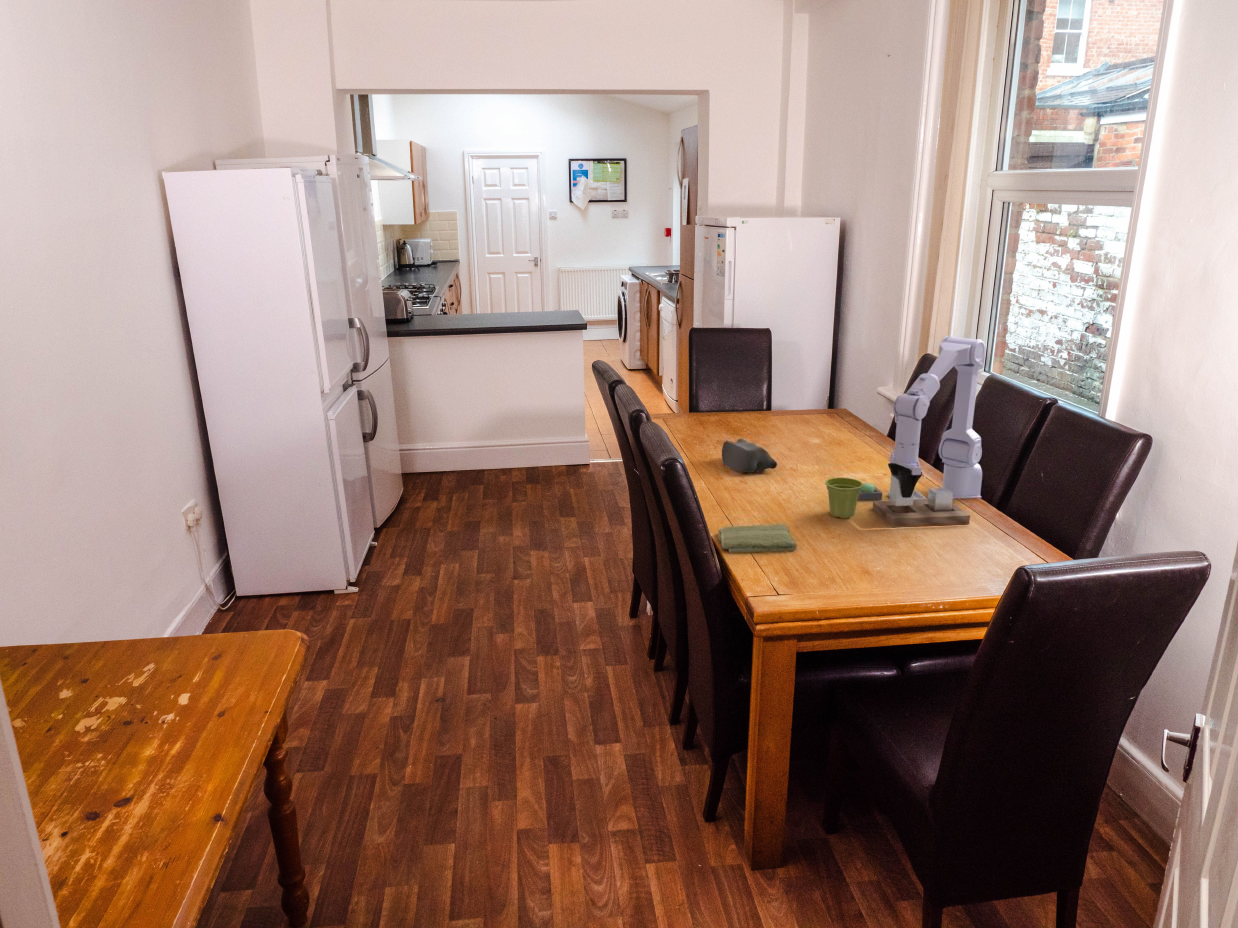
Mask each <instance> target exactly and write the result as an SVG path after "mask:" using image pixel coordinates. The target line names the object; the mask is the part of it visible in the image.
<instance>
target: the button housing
mask: <svg viewBox="0 0 1238 928" xmlns="http://www.w3.org/2000/svg"><path fill="white" fill-rule="evenodd" d="M882 498H883V492H882V491H881V490H880V489H879V488H877V487H876V486H875V488H874V492H862V491H861V490H860V492H859V495H858V500H859V501H860V502H863V501H864V502H865V501H883V499H882Z"/></svg>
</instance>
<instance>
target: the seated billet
mask: <svg viewBox="0 0 1238 928" xmlns="http://www.w3.org/2000/svg"><path fill="white" fill-rule="evenodd" d="M927 493H928V495H927V499H928V504H927V508H929V509H930V510H931V511H932V512H945V511H951V510H952V503H953V500H954V499H953V493H952V492H951V491H950V490H948V489H947V488H942V487H930V488H928V492H927Z"/></svg>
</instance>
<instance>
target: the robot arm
mask: <svg viewBox="0 0 1238 928" xmlns="http://www.w3.org/2000/svg"><path fill="white" fill-rule="evenodd" d="M986 351H987V346H986V344H985V342H984V341H983V340H982V339H981V338H980V339H979V338H968V337H967V338H965V337H958V336H951V335H946V336H945V337H944V338H943V339H942V340H941V341H940V343H939V346H938V356H937V358H936V359H935V361H933V363H932V365H931V366H930V369H929V370H928V371H927V373H922V374H920V375H919V376H918V378H917V379H916V380H915V381H914V382H913V384H912V385H911V386H910V387H909V389H908V390H907V391H906V393H902V394H899V395H898V396H896V398H895V401H894V403H893V405H892V411H893V414H894V422H895V423H896V429H895V441H894V450H893V451H890V458H889V459H888V464H887V466H888V468H889V471H890V475H891V474H899V476H900V480H901V493H902V497H903V498H911V496H912V493H913V491H914V490H915V487H916V485H917V483H918V481H919V480H920V479H921V478H922V476H923V471H922V466H921V465H920V461H919V452H920V451H919V450H920V449H919V448H920V438H921V431H922V430H921V429H922V419H924V418H925V417H926V415H927V413H928V409H929V407H930V404H931V403H930V402H931V400H932V399H933V398H934V396H935V395H936V393H937V392H938V391H939V390H940V388H941V383H940V381H941V380H942V379H943V378H944V377H945V376H946V375H947V374H948V372H950V370H952V368H955V370H956V371H957V378H956V388H955V397H954V406H953V413H952V414H953V415H952V421H951V422H952V423H951V428H950V429H948V430H946V431H945V432H943V433H942V435H941V441H940V443H939V446H938V455H939V458H940V459H941V460H942V461H941V462H942V463H944V465H943V477H942V485H941V486H942V487H941V488H947V489H948V490H950V491H951V492H952V493H953V500H954V499H975V498H981V499H982V496H981V491H982V480H983V470H982V467H981V465H980V464H979V462H980V460H981V458H982V454H983V450H982V449H983V448H982V438H981V436H980V434H978V433H977V432H976V431H975V430H974V429H973V422H974V415H975V406H976V405H975V404H976V398H977V397H976V396H977V390H978V389H977V388H978V380H979V373H980V371H979V370H981V369H984V364H985V359H986Z"/></svg>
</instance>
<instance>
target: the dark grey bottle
mask: <svg viewBox="0 0 1238 928" xmlns="http://www.w3.org/2000/svg"><path fill="white" fill-rule="evenodd" d="M721 459H722V462H723V464H724V466H725V467H726V466H727V467H726V468H728V467H729V468H728V469H730V470H732V471H736V472H738V473H740V474H744V473H753V472H755V473H764V472H765V471H766V470H767V469H771V470H773V469H776V468H777V466H778V463H777V461H776V460H775V459H774V458H772V457H771V456H770V454H769V452H768V451H767V450H766V449H764V448H763V447H761V446H758V445H757V444H756V443H753V442H750V441H747V440H745V439H744V438H738V439H737V440H736V441H735V442H734V441H730V440H726V441H724V442H723V444H722V448H721Z"/></svg>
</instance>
